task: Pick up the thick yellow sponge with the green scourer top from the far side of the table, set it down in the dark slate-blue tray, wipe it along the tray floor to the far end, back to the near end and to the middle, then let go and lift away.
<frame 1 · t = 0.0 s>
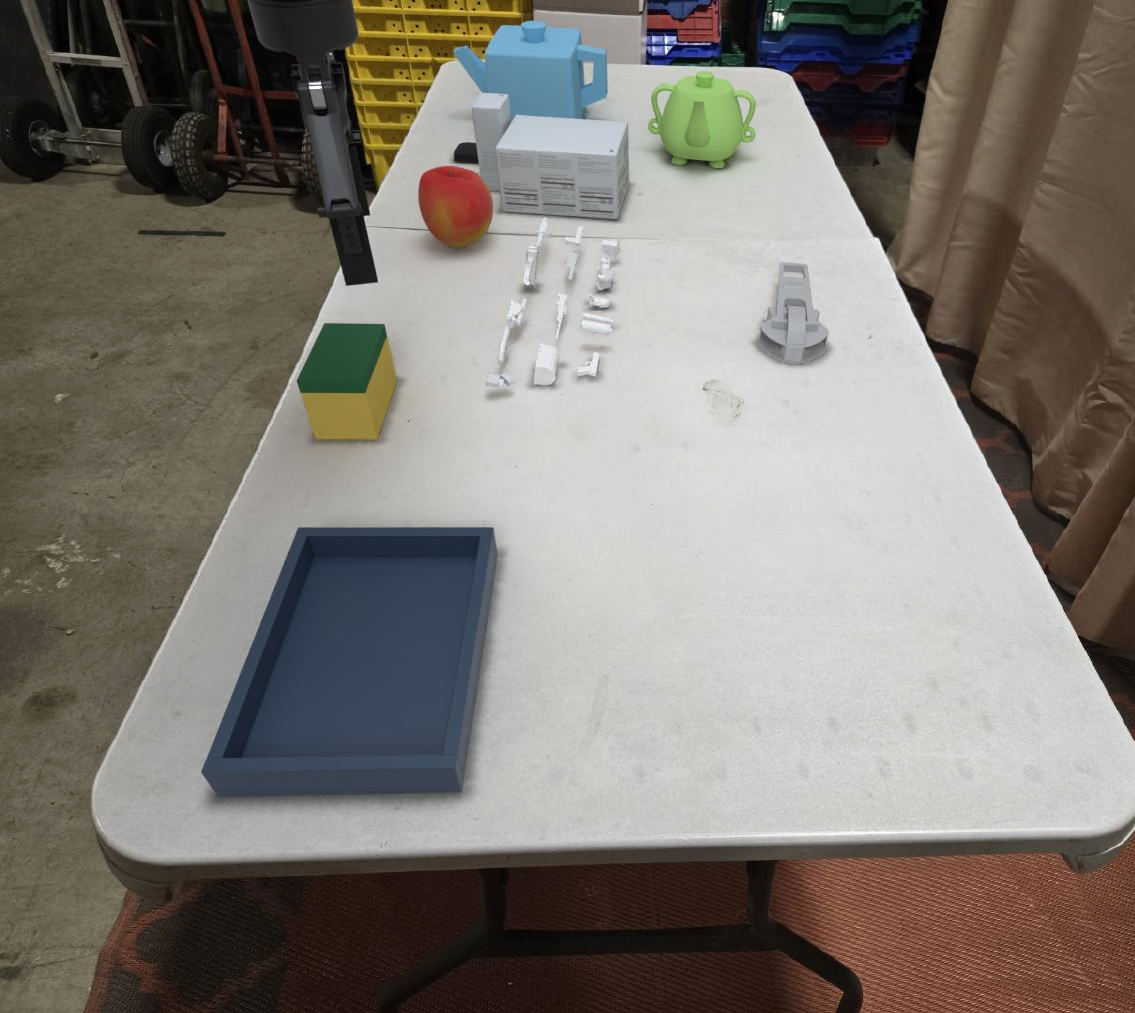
hand: (358, 247, 79), 16 cm above the table, tool pointing down, fingers open, 13 cm apart
cosmetic box: (499, 184, 127), on the table
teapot: (699, 159, 137), on the table
tray: (376, 659, 64), on the table
zipper pull: (791, 323, 102), on the table
miniature set: (566, 315, 101), on the table
sponge: (358, 408, 86), on the table
container: (535, 123, 146), on the table
supplement box: (567, 198, 125), on the table
apple: (460, 244, 113), on the table
remote control: (503, 160, 134), on the table
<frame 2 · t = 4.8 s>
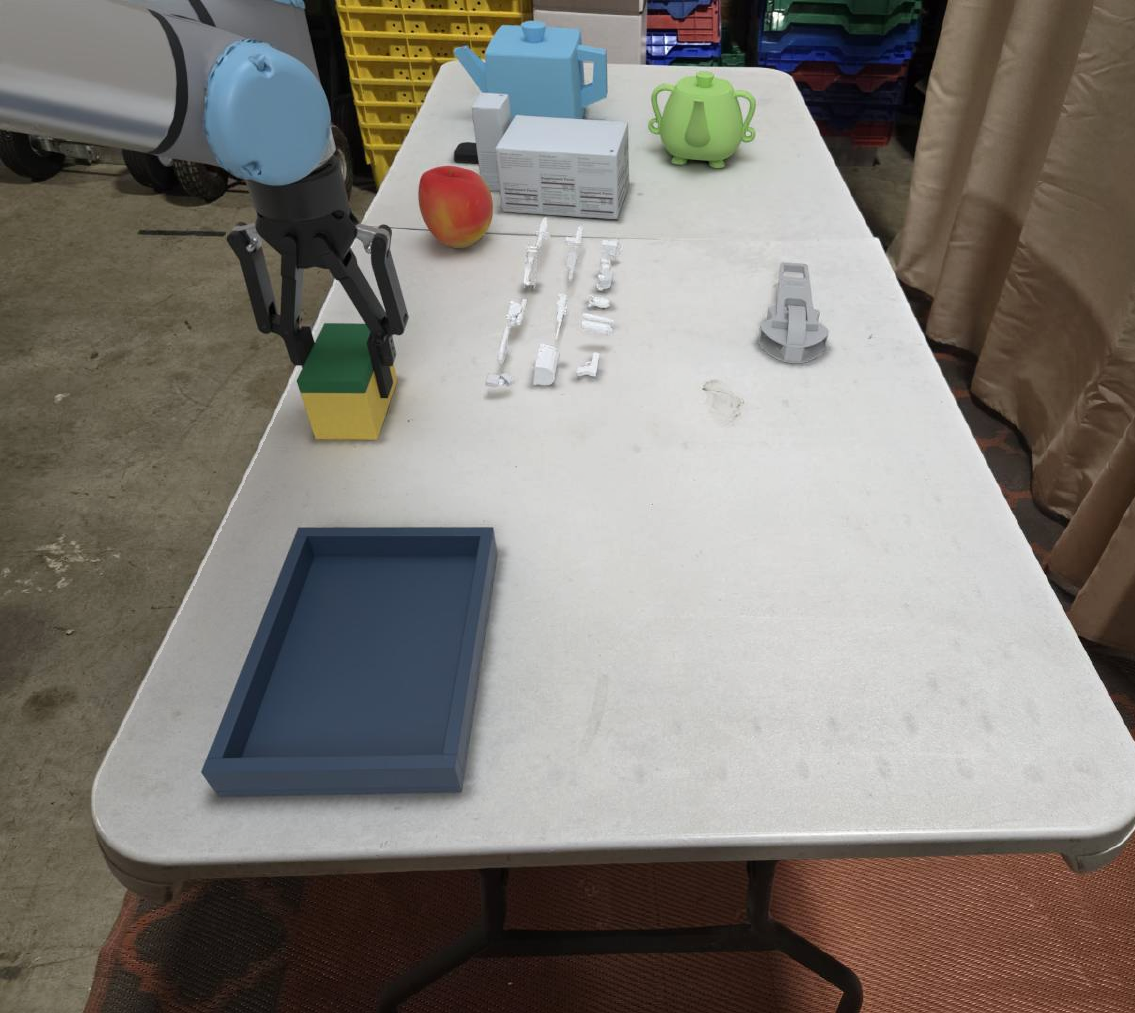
hand: (353, 389, 85), 2 cm above the table, tool pointing down, fingers closed on sponge, 6 cm apart
sponge: (358, 408, 86), on the table, touching gripper
everything else where it was.
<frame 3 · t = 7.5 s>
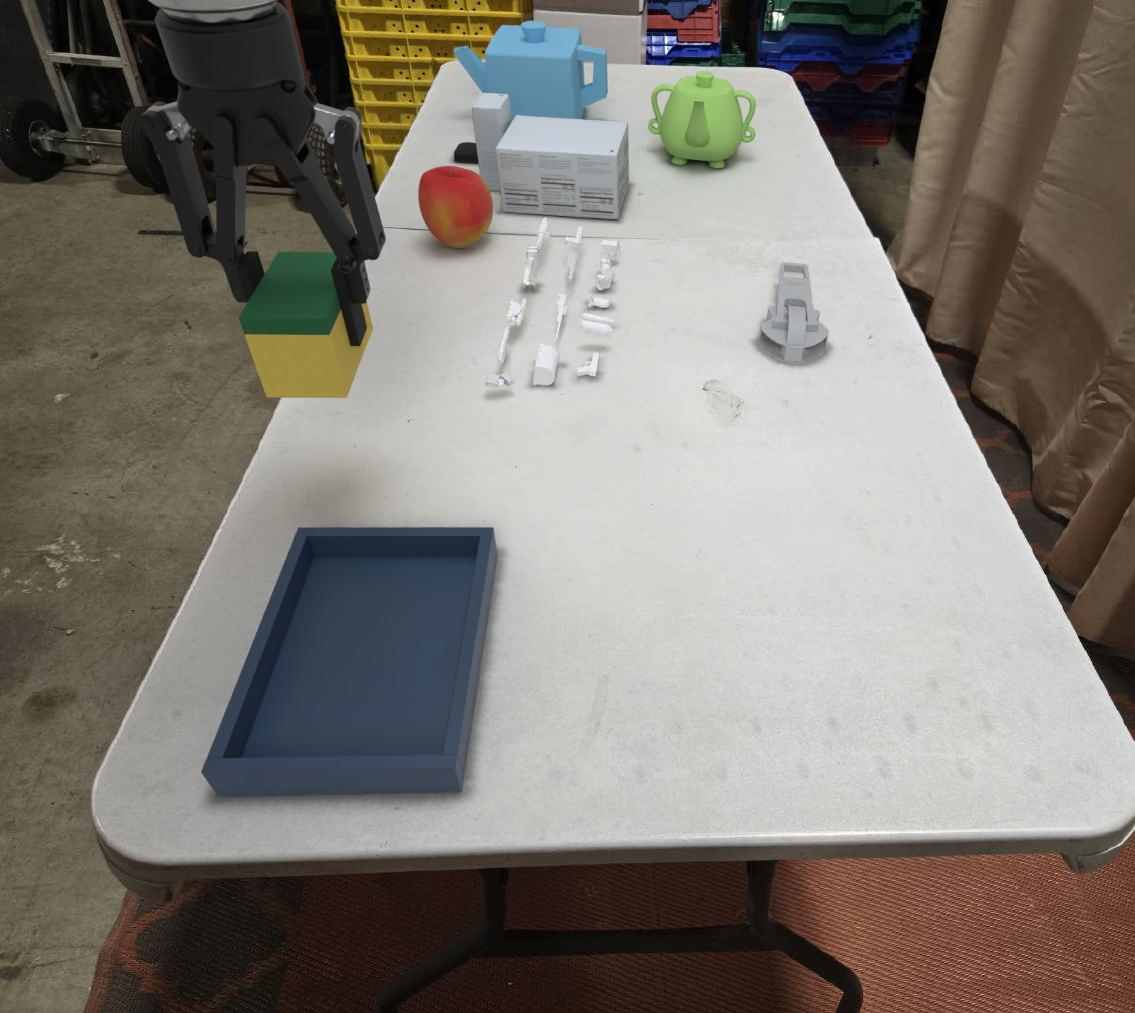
hand: (315, 336, 66), 16 cm above the table, tool pointing down, fingers closed on sponge, 6 cm apart
sponge: (322, 361, 68), point 14 cm above the table, touching gripper
everything else where it was.
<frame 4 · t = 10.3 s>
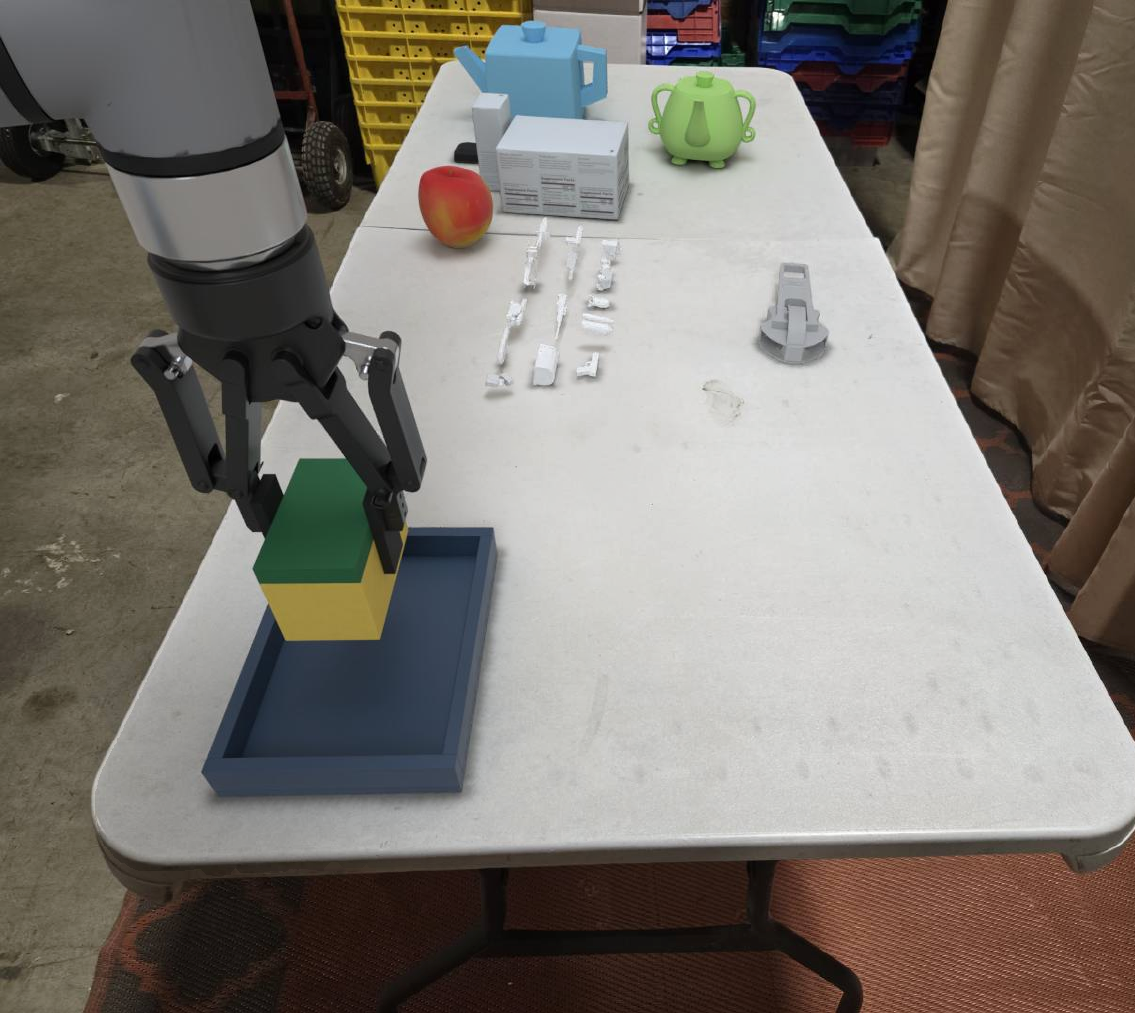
hand: (342, 558, 56), 11 cm above the table, tool pointing down, fingers closed on sponge, 6 cm apart
sponge: (351, 582, 58), point 9 cm above the table, touching gripper
everything else where it was.
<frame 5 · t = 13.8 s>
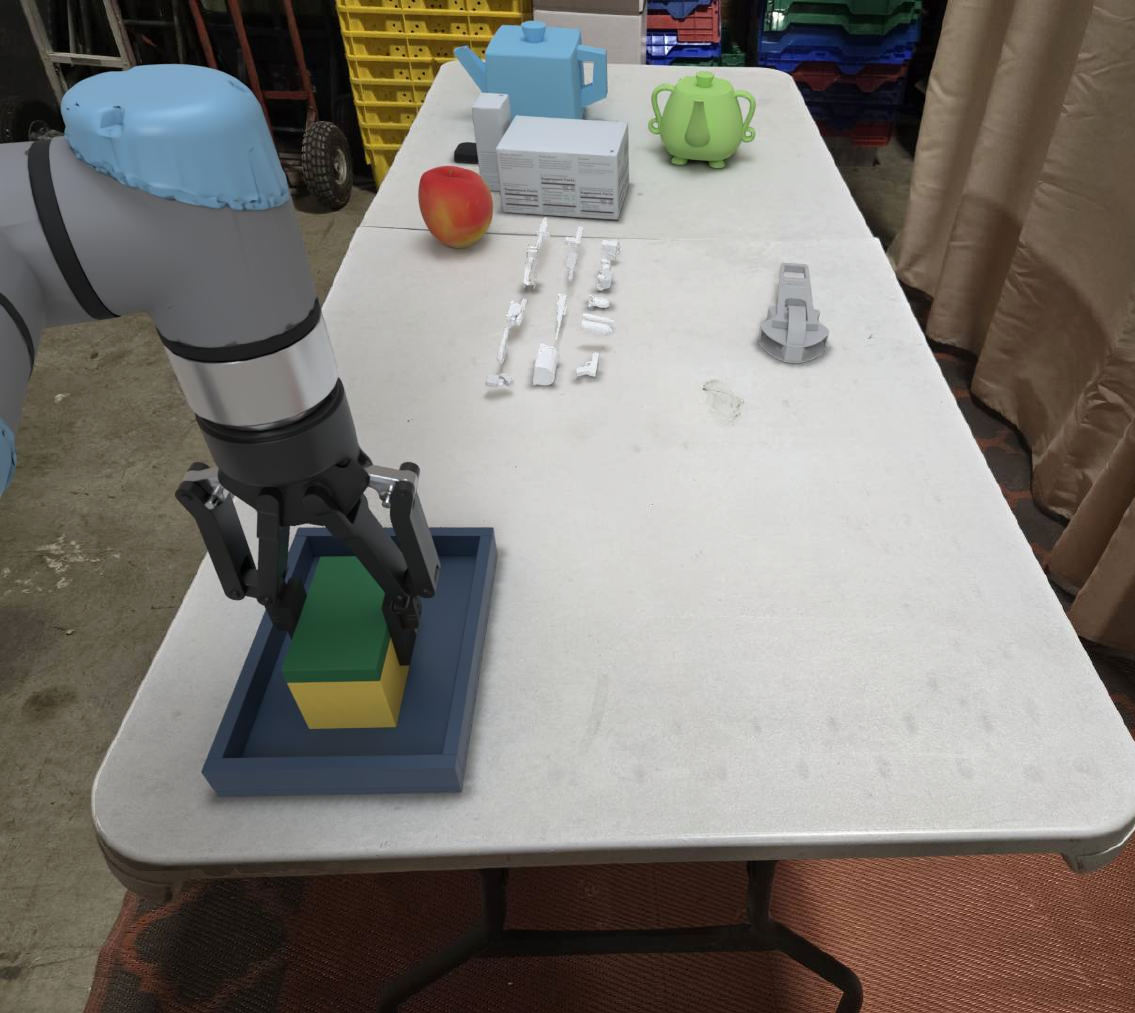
hand: (360, 650, 61), 3 cm above the table, tool pointing down, fingers closed on sponge, 6 cm apart
sponge: (368, 669, 63), point 1 cm above the table, touching gripper
everything else where it was.
when the fingers open (3 cm above the table, at t = 16.1 s): sponge stays where it is, resting on tray.
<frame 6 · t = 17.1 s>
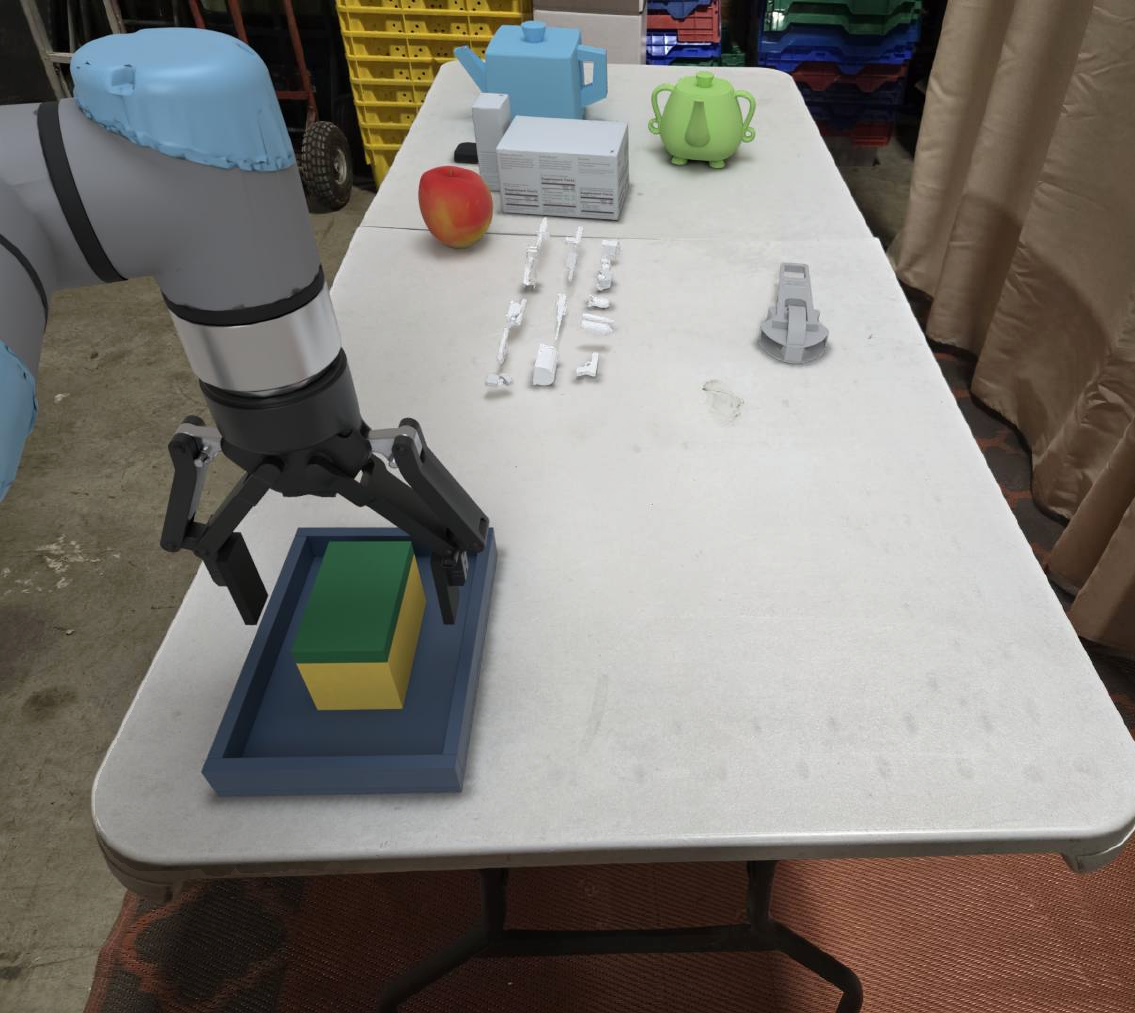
hand: (355, 610, 60), 6 cm above the table, tool pointing down, fingers open, 13 cm apart
sponge: (375, 652, 64), point 1 cm above the table, touching tray
everything else where it was.
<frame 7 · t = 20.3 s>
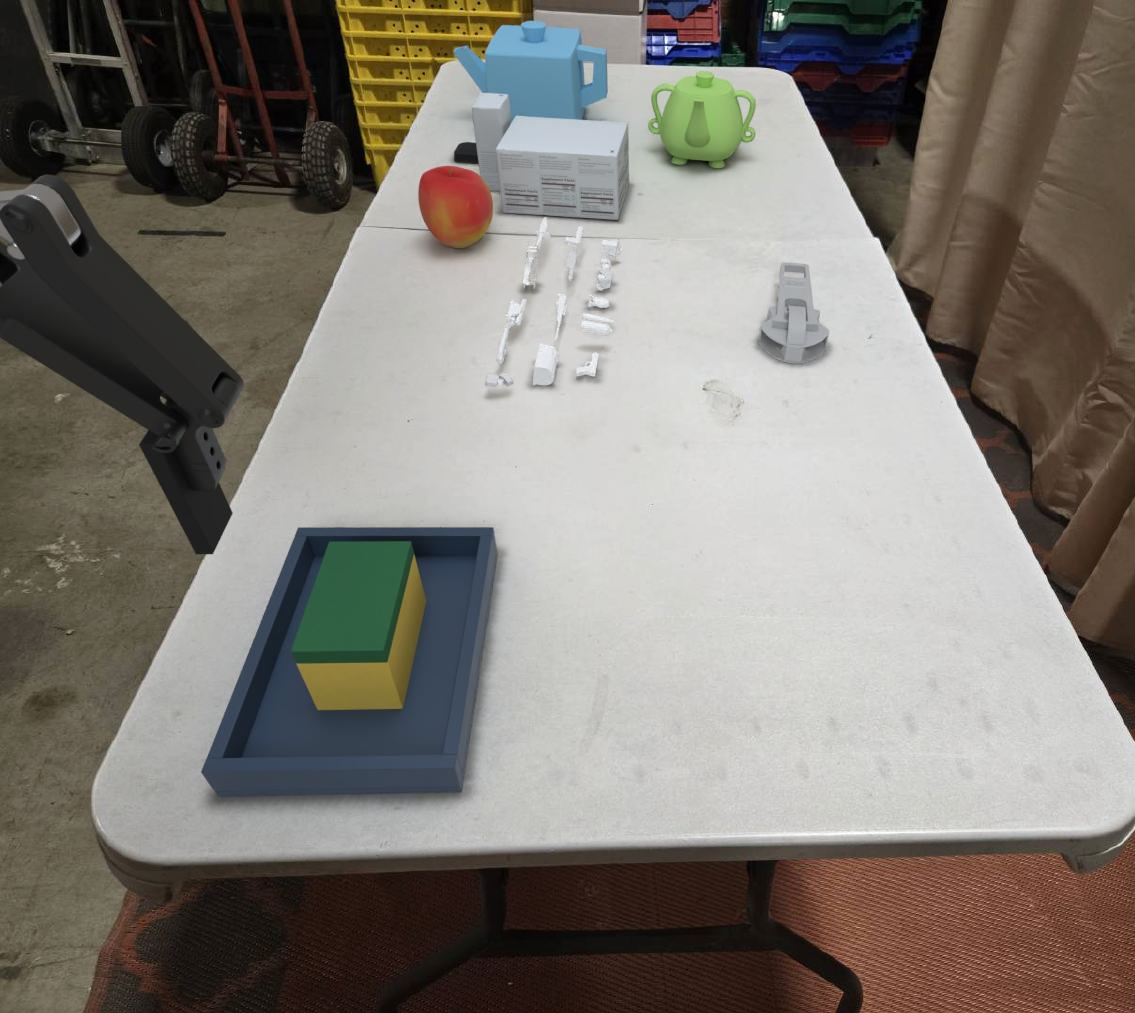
hand: (64, 534, 39), 25 cm above the table, tool pointing down, fingers open, 13 cm apart
nothing on the table moved.
at the end: sponge inside the target area in the tray (0.1 cm from its centre), point 0.8 cm above the tray's base; the gripper is holding nothing; sponge tilted 0° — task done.
